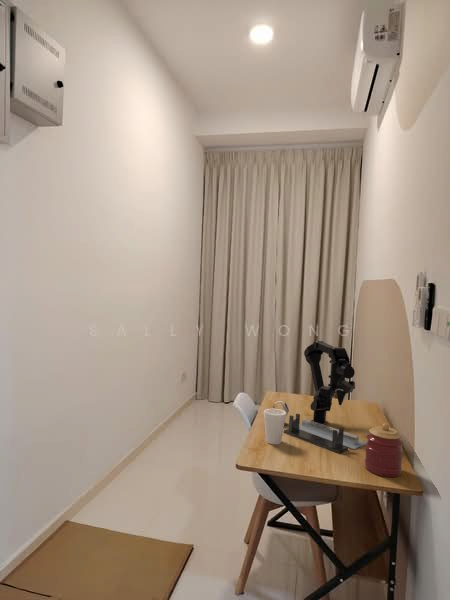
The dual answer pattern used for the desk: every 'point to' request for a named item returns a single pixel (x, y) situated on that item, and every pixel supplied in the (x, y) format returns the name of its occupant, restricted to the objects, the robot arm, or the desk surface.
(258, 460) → the desk surface
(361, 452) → the desk surface
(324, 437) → the mat
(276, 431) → the foam cup
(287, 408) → the watch
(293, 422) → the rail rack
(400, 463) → the canister
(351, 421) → the desk surface
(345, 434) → the rail
